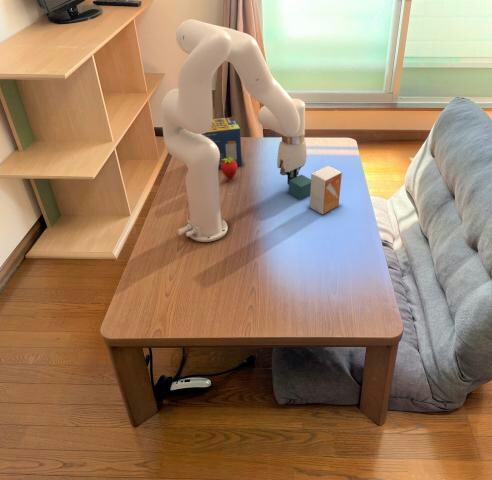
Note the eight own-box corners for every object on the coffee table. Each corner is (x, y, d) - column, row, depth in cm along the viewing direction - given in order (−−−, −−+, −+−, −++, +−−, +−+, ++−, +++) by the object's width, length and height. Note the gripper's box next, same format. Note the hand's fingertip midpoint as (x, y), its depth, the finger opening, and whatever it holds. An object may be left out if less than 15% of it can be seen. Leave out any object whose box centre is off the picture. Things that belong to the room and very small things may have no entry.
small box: (323, 215, 160) (325, 180, 152) (309, 207, 164) (310, 173, 156) (339, 205, 165) (342, 172, 157) (325, 198, 168) (327, 164, 160)
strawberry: (221, 185, 174) (219, 160, 168) (222, 174, 180) (220, 150, 174) (238, 184, 175) (236, 159, 168) (238, 174, 181) (237, 149, 174)
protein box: (197, 158, 190) (193, 121, 180) (236, 153, 193) (234, 116, 184) (202, 171, 182) (198, 133, 172) (242, 165, 186) (240, 127, 176)
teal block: (300, 199, 168) (301, 187, 164) (288, 192, 171) (289, 180, 168) (313, 193, 171) (313, 180, 168) (301, 186, 174) (301, 174, 171)
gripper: (301, 127, 168) (299, 173, 179) (268, 140, 160) (269, 188, 171) (316, 134, 164) (314, 181, 175) (284, 148, 155) (283, 196, 167)
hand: (292, 184), depth 173 cm, fingers closed
